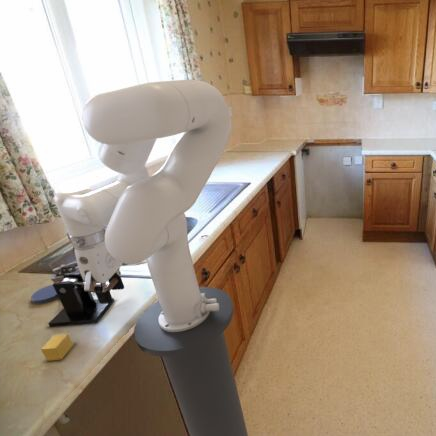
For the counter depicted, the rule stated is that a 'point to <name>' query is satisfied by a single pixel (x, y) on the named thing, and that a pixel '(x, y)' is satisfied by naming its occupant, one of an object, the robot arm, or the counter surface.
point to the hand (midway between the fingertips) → (112, 295)
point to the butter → (57, 347)
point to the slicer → (77, 304)
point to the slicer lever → (108, 285)
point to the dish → (44, 295)
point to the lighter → (64, 271)
